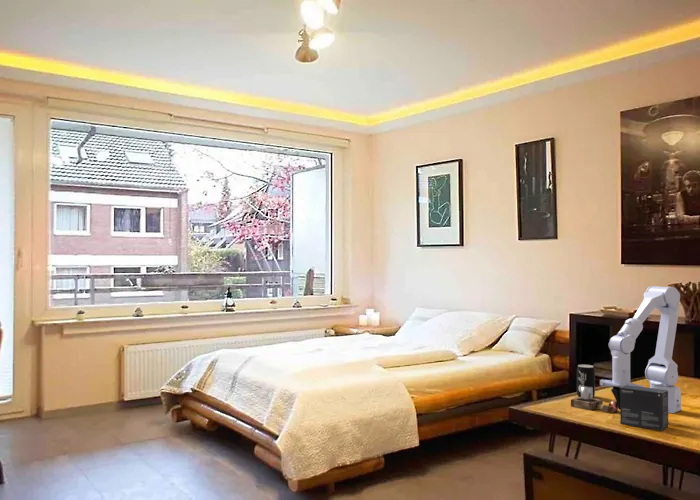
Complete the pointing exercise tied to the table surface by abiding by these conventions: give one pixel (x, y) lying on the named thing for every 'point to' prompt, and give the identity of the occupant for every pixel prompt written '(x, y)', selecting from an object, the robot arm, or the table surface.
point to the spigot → (586, 394)
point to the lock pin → (612, 408)
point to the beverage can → (585, 378)
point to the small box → (644, 407)
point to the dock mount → (589, 404)
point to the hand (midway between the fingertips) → (621, 409)
